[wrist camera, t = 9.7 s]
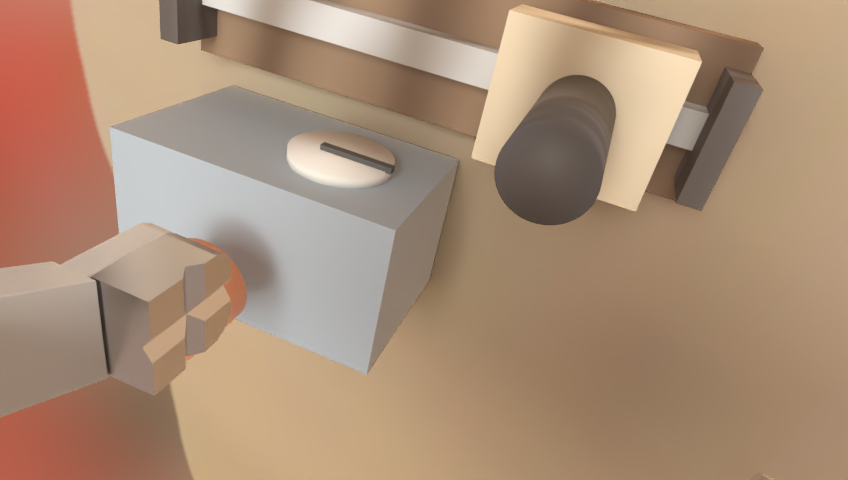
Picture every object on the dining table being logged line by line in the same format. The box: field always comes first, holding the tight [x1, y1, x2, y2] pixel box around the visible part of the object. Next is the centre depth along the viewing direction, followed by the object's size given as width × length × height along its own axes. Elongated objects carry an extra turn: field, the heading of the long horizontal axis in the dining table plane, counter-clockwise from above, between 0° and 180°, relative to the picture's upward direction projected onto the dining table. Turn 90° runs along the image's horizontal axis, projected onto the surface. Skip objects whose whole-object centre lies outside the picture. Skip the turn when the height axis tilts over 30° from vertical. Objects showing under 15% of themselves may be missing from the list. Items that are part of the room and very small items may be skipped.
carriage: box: [471, 4, 702, 225], centre depth 21 cm, size 7×6×11 cm
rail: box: [159, 0, 763, 211], centre depth 26 cm, size 26×7×4 cm, turn 78°
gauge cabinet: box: [110, 86, 459, 375], centre depth 30 cm, size 14×9×9 cm, turn 78°
